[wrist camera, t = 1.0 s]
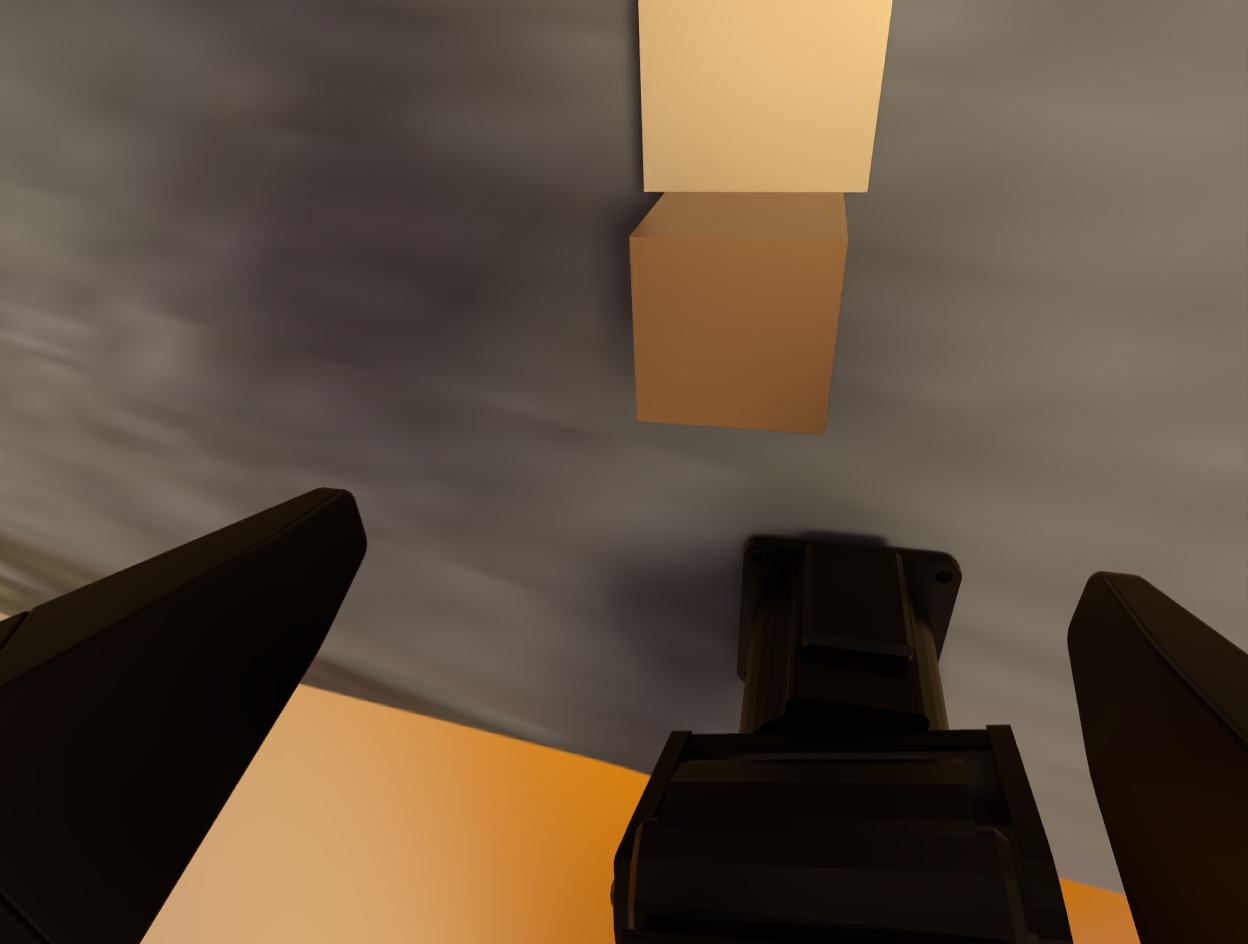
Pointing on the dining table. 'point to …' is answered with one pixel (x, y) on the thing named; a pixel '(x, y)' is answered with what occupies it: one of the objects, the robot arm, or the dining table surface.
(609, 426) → the dining table surface
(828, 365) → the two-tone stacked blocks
